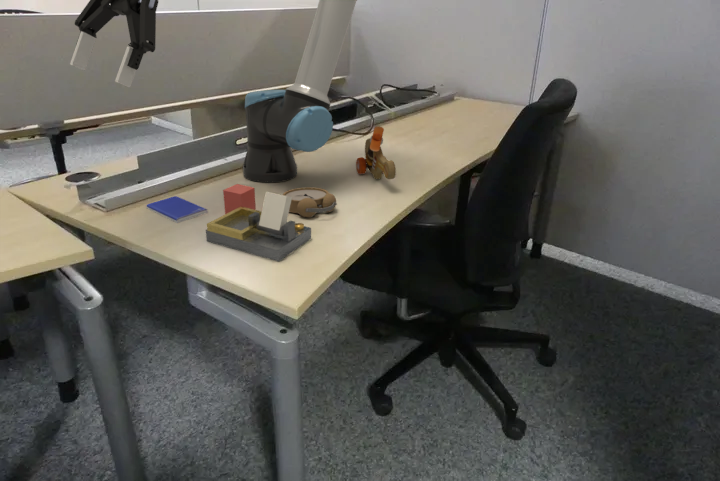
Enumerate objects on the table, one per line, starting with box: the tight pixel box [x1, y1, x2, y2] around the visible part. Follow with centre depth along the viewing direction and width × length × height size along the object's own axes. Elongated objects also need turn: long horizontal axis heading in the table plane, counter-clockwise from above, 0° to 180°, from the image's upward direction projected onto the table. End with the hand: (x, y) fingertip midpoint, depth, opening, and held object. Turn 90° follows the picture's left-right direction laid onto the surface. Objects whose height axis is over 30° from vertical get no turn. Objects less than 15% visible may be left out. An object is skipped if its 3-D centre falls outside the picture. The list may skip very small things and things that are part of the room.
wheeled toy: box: [355, 125, 397, 180], centre depth 142 cm, size 8×21×14 cm, turn 18°
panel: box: [205, 207, 312, 262], centre depth 108 cm, size 12×18×6 cm, turn 63°
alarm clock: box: [281, 186, 338, 219], centre depth 124 cm, size 11×5×15 cm
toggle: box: [257, 191, 292, 236], centre depth 105 cm, size 2×6×8 cm, turn 64°
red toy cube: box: [222, 183, 257, 215], centre depth 120 cm, size 5×5×6 cm
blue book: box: [145, 195, 209, 224], centre depth 122 cm, size 2×8×12 cm
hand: (99, 76), depth 95 cm, fingers open, 13 cm apart
